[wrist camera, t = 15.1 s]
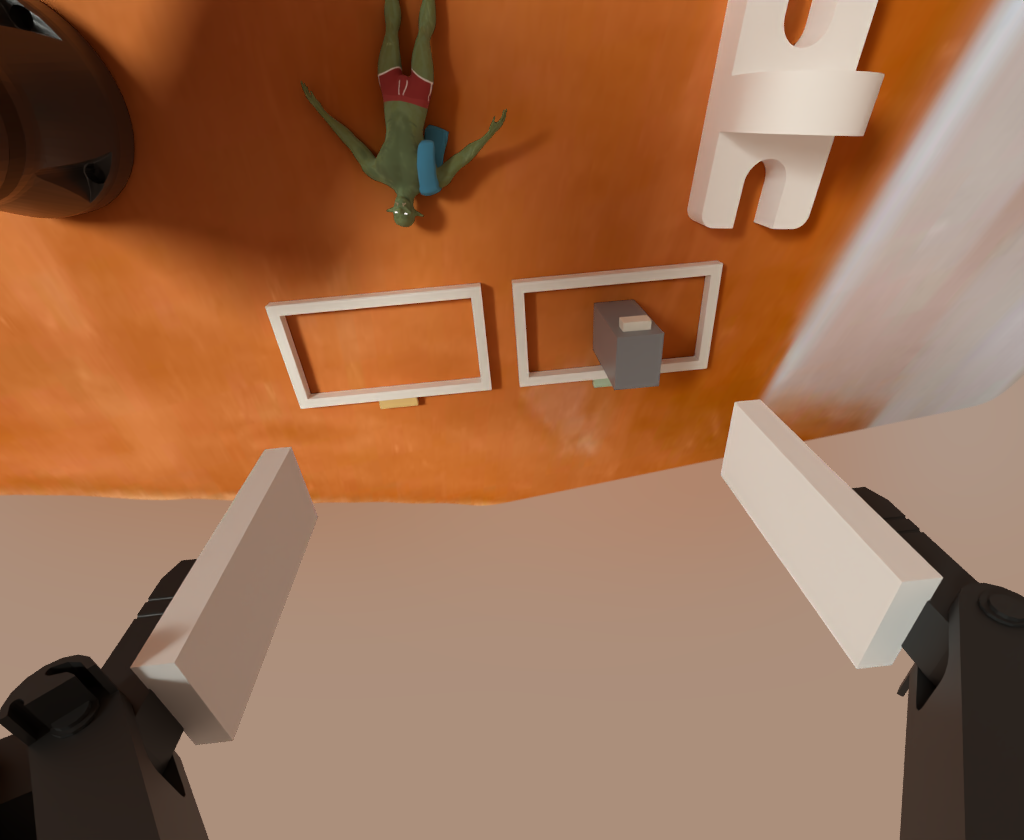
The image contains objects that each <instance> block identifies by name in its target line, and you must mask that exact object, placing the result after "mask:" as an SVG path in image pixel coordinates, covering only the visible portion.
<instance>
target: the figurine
mask: <svg viewBox="0 0 1024 840" xmlns="http://www.w3.org/2000/svg"><path fill="white" fill-rule="evenodd" d="M384 14H385V23H386V34H385V37H384V41H383V44H382V47H381V50H380V55H379V60H378V79H379V85H380V88H381V91H382V95H383V100H384V114H385V122H386V138H385V142H384V144H383V145H382V147H381V149H380V152H379V154H378V155H377V157H375V156H374V155H373V153H372V152H371V151H370V150H369V149H368V148H367V147H366V146H365V145H364V144H363V143H362V142H361V141H360V140H359V139H357V138H356V137H355V135H354V134H353V133H352V132H351V131H350V130H349V129H348V128H346V127H345V126H344V125H342V124H341V123H339V122H338V121H337V120H335V119H334V118H333V117H331V116H330V115H329V114H328V113H327V112H326V111H325V110H324V108H323V107H322V105H321V104H320V102H319V101H318V100H317V99H316V98H315V97H314V95H313V93H312V91H310V92H311V94H310V93H309V91H308V87H306V85H305V83H304V85H303V82H302V81H301V85H302V88H303V91H304V93H305V95H306V97H307V99H308V100H309V102H310V103H311V104H312V105H313V106H314V107H315V108H316V110H317V111H318V112H319V114H320V115H321V116H322V117H323V118H324V120H325V121H326V122H327V123H328V124H329V125H330V127H331V128H332V129H333V130H334V131H335V133H336V134H337V135H338V136H339V138H340V139H341V140H342V141H343V142H344V143H345V144H346V146H347V147H348V148H349V149H350V150H351V152H352V153H353V155H354V156H355V158H356V159H357V161H358V162H359V163H360V165H361V167H362V169H363V171H364V172H365V173H366V174H367V175H368V176H369V177H370V178H372V179H374V180H376V181H379V182H382V183H384V184H386V185H388V186H390V187H391V188H392V189H394V190H395V192H396V193H397V197H396V199H395V204H394V207H393V208H390V209H388V210H387V212H393V214H394V220H395V222H396V223H397V224H398V225H400V226H403V227H409V226H411V225H412V224H413V223H414V221H415V216H422V217H424V215H422V214H421V213H419V212H418V211H416V210H415V209H414V206H413V203H414V198H415V196H416V195H417V194H419V193H421V194H422V195H425V196H430V195H434V194H436V193H438V192H440V191H441V189H442V188H443V187H445V186H446V185H448V184H449V183H450V182H451V180H452V178H453V177H454V176H455V174H456V173H457V172H458V171H459V170H460V169H461V168H462V167H463V166H465V165H466V164H468V163H469V162H470V161H471V160H472V159H473V158H474V157H475V156H476V155H477V153H478V152H479V151H480V150H481V149H482V147H483V146H484V145H485V144H486V143H487V141H488V140H489V139H490V138H491V137H492V136H493V135H494V133H495V132H496V131H498V130H499V129H500V127H501V126H502V125H503V122H504V121H505V118H506V112H507V109H506V110H503V114H502V117H501V119H500V120H499V121H498V122H495V116H494V118H493V121H492V123H491V125H490V128H489V131H488V132H487V133H486V134H485V135H484V136H483V137H482V138H481V139H479V140H477V141H475V142H472V143H470V144H468V145H467V146H466V147H465V148H464V149H463V150H462V151H460V152H459V153H457V154H455V155H453V156H452V157H451V158H450V159H449V160H447V161H446V162H445V163H444V164H443V157H444V152H445V148H446V145H447V141H448V134H449V132H447V131H446V130H444V129H442V128H439V127H436V126H433V125H428V126H427V128H426V129H425V135H424V138H423V127H424V123H425V119H426V115H427V111H428V106H429V103H430V99H431V93H432V88H433V82H434V70H433V60H432V54H431V48H430V39H431V36H432V34H433V31H434V29H435V25H436V7H435V0H423V1H422V5H421V8H420V13H419V32H418V36H417V39H416V41H415V45H414V49H413V53H412V59H411V76H410V77H408V76H406V75H403V73H402V65H401V57H400V48H399V39H398V31H399V28H400V24H401V9H400V5H399V0H385V9H384ZM504 111H505V113H504Z"/></svg>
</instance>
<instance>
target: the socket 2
mask: <svg viewBox="0 0 1024 840" xmlns="http://www.w3.org/2000/svg"><path fill="white" fill-rule="evenodd" d="M722 267H723V263H721V262H720V261H718V260H717V261H706V262H695V263H685V264H674V265H663V266H653V267H642V268H632V269H621V270H610V271H600V272H589V273H578V274H568V275H557V276H547V277H536V278H525V279H515V280H512V292H513V305H514V319H515V333H516V346H517V360H518V374H519V384H520V387H525V386H535V385H545V384H555V383H565V382H575V381H585V380H593V386H594V388H596V387H606V386H612V384H611V383H610V381H609V379H608V377H607V375H606V373H605V371H604V369H603V367H602V366H601V365H599V366H589V367H579V368H569V369H558V370H548V371H538V372H529V370H528V353H527V337H526V320H525V304H524V293H528V292H539V291H549V290H560V289H570V288H581V287H591V286H602V285H613V284H623V283H634V282H644V281H655V280H665V279H676V278H686V277H697V276H705V283H704V290H703V297H702V304H701V312H700V319H699V326H698V334H697V341H696V348H695V355H694V356H690V357H680V358H670V359H662V360H661V369H660V373H666V372H676V371H686V370H696V369H706V368H707V365H708V358H709V352H710V345H711V339H712V332H713V326H714V319H715V313H716V306H717V300H718V293H719V287H720V280H721V274H722Z"/></svg>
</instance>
